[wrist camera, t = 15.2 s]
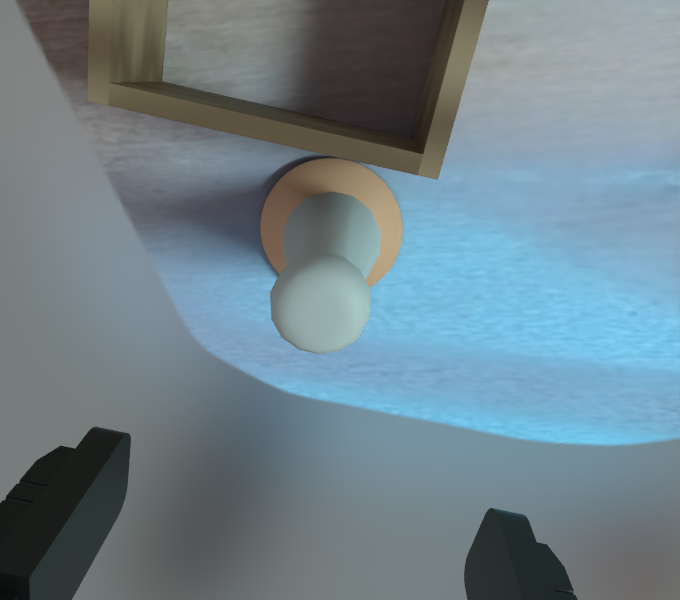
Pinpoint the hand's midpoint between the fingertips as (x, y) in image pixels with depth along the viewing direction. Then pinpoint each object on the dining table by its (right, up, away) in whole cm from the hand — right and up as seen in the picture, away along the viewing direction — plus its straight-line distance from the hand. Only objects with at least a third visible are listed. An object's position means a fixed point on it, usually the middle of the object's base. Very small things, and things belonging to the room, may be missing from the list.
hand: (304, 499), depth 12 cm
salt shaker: (0, +9, +22) cm, 24 cm away
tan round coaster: (0, +9, +22) cm, 24 cm away
